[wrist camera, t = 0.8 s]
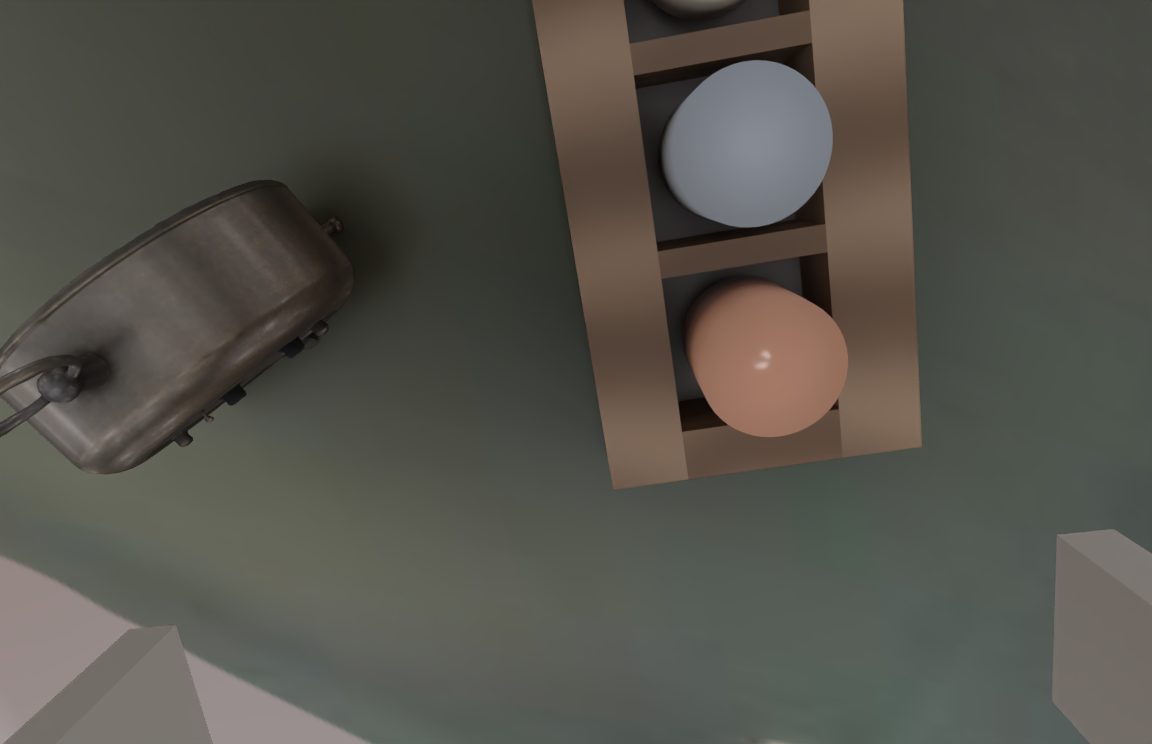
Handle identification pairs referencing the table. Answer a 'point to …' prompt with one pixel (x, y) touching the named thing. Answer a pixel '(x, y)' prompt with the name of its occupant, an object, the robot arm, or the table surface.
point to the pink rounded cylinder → (764, 356)
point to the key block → (718, 251)
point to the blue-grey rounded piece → (747, 145)
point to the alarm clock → (174, 326)
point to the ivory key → (697, 8)
